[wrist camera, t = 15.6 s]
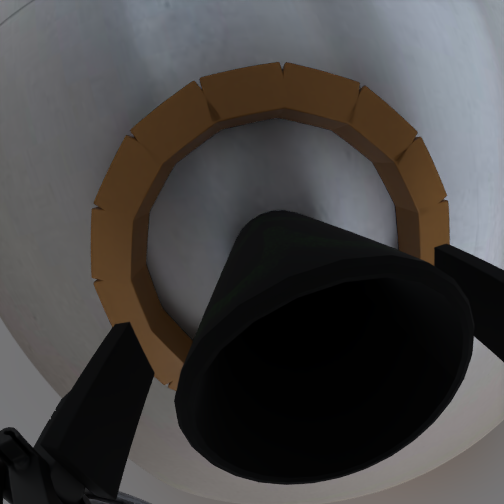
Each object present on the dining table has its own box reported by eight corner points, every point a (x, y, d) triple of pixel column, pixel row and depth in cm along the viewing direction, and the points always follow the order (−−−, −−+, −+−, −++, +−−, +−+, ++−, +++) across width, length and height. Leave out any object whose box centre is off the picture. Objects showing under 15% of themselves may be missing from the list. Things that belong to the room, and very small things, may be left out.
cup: (361, 225, 17) (510, 319, 5) (305, 327, 18) (363, 485, 7) (246, 170, 15) (267, 176, 4) (196, 287, 17) (145, 457, 6)
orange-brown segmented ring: (176, 404, 20) (170, 428, 18) (77, 139, 14) (52, 136, 11) (421, 344, 20) (437, 362, 17) (398, 70, 14) (420, 59, 11)
